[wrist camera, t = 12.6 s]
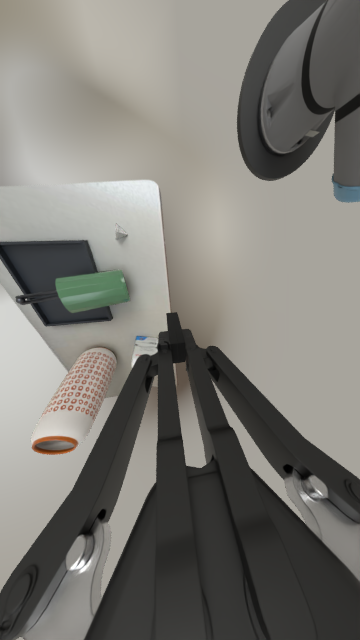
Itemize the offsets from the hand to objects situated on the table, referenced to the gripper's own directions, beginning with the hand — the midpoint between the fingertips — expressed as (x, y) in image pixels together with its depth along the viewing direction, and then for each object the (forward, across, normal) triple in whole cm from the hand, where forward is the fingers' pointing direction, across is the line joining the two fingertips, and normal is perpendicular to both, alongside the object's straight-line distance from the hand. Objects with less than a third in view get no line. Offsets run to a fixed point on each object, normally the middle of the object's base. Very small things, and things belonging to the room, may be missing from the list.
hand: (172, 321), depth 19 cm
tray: (+26, -29, -1) cm, 39 cm away
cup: (+22, -11, 0) cm, 25 cm away
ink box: (+27, -9, -24) cm, 37 cm away
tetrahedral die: (+27, -10, +12) cm, 31 cm away
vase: (+27, -28, -29) cm, 48 cm away
